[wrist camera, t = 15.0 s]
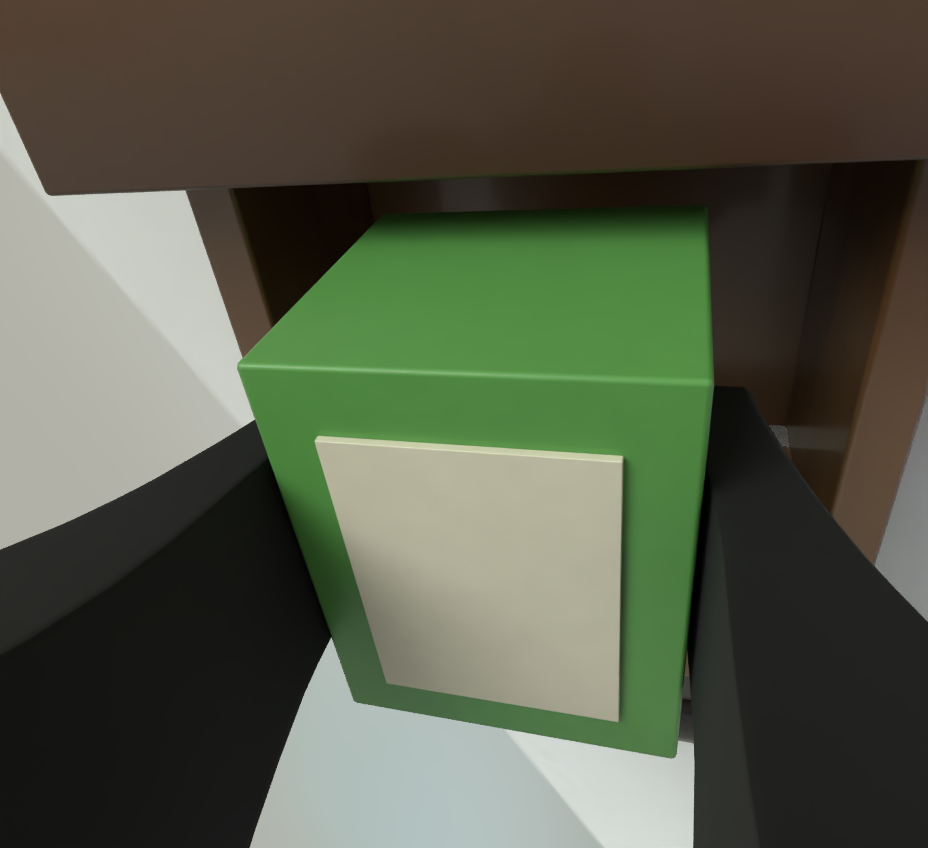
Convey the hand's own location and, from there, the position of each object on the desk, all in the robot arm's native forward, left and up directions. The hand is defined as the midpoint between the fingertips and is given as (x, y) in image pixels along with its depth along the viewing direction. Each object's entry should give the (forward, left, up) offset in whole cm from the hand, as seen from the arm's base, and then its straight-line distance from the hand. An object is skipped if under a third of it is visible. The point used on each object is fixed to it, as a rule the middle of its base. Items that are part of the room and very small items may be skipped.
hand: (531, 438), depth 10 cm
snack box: (0, 0, -1) cm, 1 cm away
